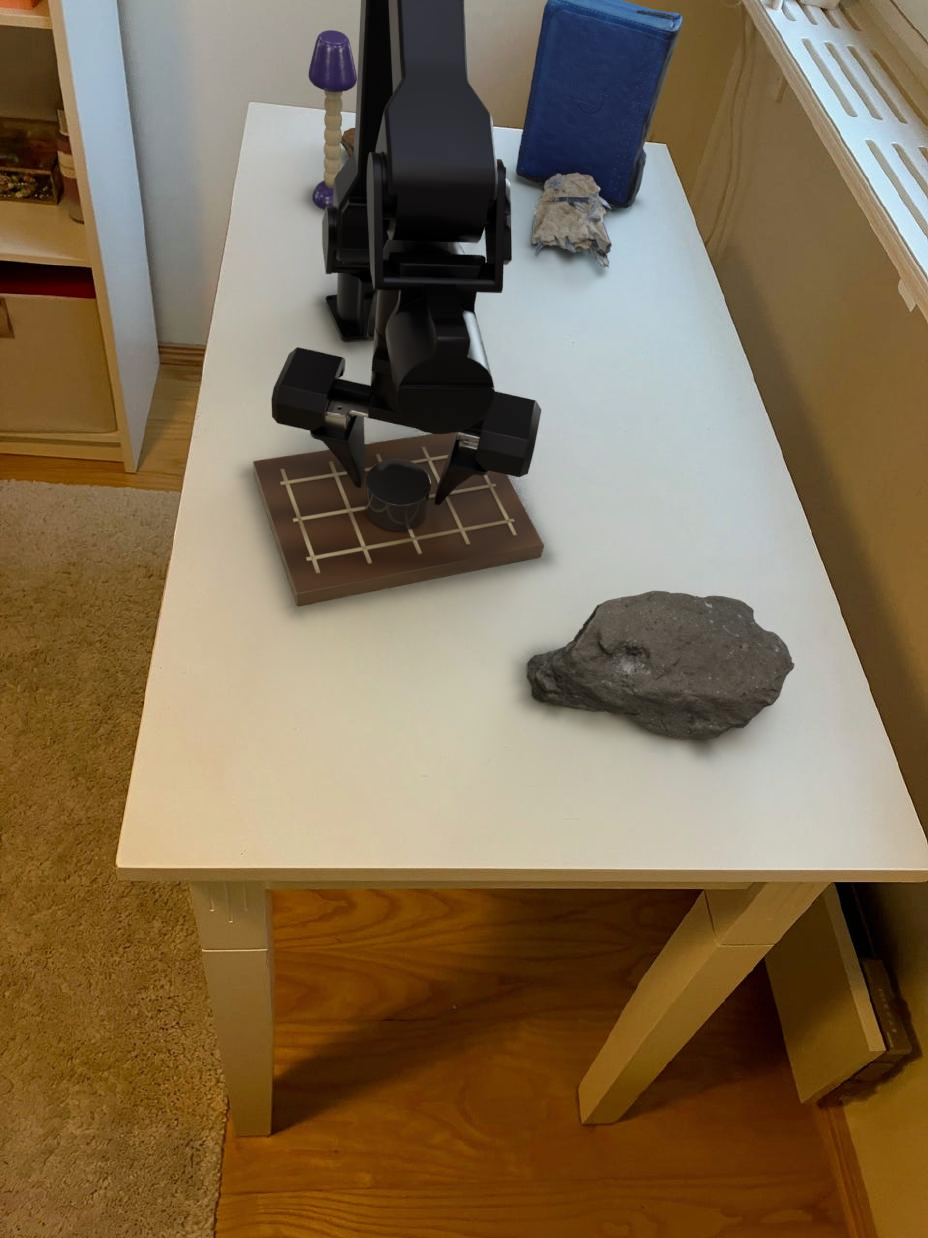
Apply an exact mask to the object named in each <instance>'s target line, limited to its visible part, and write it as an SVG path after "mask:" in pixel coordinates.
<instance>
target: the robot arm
mask: <svg viewBox="0 0 928 1238" xmlns="http://www.w3.org/2000/svg"><path fill="white" fill-rule="evenodd" d="M359 14H360V15H359V33H358V34H359V37H358V53H357V55H358V57H357V82H356V100H355V122H354V128H355V142H354V152H353V154H352V155H351V156H350V157H348V159H347V160H346V162H345V163H344V164H343V165H342V166H341V168H340V170H339V173H338V174H337V175H336V177H335V178H334V192H333V207H332V206H326V209H325V210H324V213H323V217H322V221H321V247H322V252H323V253H322V254H323V262H324V270H325V275H333V274H337V281H336V283H337V285H336V294H329V295H326V296H325V298H324V299H325V301H324V302H325V305H326V307H327V309H328V311H329V314H330V316H331V318H332V320H333V323H334V325H335V328H336V330H337V332H338V334H339V336H340V338H341V340H342V341H344V342H352V341H360V340H369V339H371V340H373V348H372V359H371V360H372V361H371V369H370V371H371V373H370V374H371V375H370V385H369V384H365V383H360V382H357V381H351V380H348V379H343V378H342V377H344V374H345V371H346V358H344V357H343V356H339V355H336V354H330V353H325V352H322V351H317V350H312V349H308V348H303V347H299V346H296V348H295V349H293V350H292V351H290V352H289V353H288V355H287V357H286V360H285V361H284V363H283V366H282V368H281V371H280V373H279V375H278V377H277V379H276V381H275V383H274V385H273V389H272V394H271V417H272V419H273V420H274V421H275V423H276V424H277V425H283V426H286V427H292V428H296V429H300V430H304V431H308V432H309V435H310V437H311V438H312V439H314V440H317V441H321V442H322V443H323V444H324V445H325V446H326V447H327V449H328V450H330V451H331V452H332V453H333V454H334V455H335V456H336V458H337V459H338V460H339V461H340V463H341V464H342V466H343V467H344V469H345V470H346V472H347V474H348V475H349V477H350V478H351V480H352V481H353V483H354V485H355V486H356V487H358V488H361V486H362V483H363V480H364V473H365V444H366V441H365V418H366V419H369V420H374V421H375V420H376V421H379V422H385V423H389V424H392V425H397V426H402V427H406V428H411V429H415V430H418V431H420V432H423V433H427V434H449V433H454V432H456V434H455V437H454V440H453V443H452V446H451V449H450V452H449V455H448V457H447V460H446V463H445V466H444V469H443V472H442V474H441V477H440V480H439V484H438V488H437V491H436V495H435V503H434V504H435V505H440V504H441V503H442V502H443V501H444V500H445V499H446V498H447V496H448V495H449V494H450V493H451V492H452V491H453V490H454V489H455V488H456V487H457V486H458V485H460V484H461V483H463V482H464V481H466V480H467V479H468V478H470V477H471V476H473V475H479V476H484V475H487V474H488V472H489V471H493V472H497V473H502V474H506V475H508V476H510V477H516V478H521V477H523V476H526V475H528V474H529V473H530V467H531V463H532V461H533V456H534V452H535V448H536V444H537V443H536V442H537V437H538V431H539V425H540V421H541V415H542V408H541V407H540V404H539V403H538V402H537V401H538V400H536V399H532V398H528V397H523V396H519V395H514V394H510V393H506V392H500V391H496V390H495V385H494V380H493V375H492V371H491V368H490V364H489V360H488V356H487V351H486V349H485V345H484V341H483V336H482V332H481V330H480V329H481V328H480V325H479V321H478V318H477V314H476V310H475V309H476V307H475V306H476V299H477V294H479V293H482V294H483V293H484V294H487V293H488V294H502V293H503V289H504V268H505V267H504V266H508V265H509V263H511V262H512V260H513V243H512V242H513V241H512V188H511V182H510V181H509V179H508V178H507V167H506V166H505V164H504V161H503V159H501V158H497V151H496V141H495V133H494V123H493V122H494V121H493V116H492V114H491V112H490V111H489V109H488V108H487V107H486V105H485V103H484V102H483V100H482V99H481V98H480V97H479V95H478V93H476V91H475V89H474V88H473V86H472V85H471V83H470V75H469V67H468V65H469V64H468V47H467V28H466V9H465V0H360V13H359ZM483 234H484V241H485V255H482V254H468V253H467V254H466V253H465V251H464V249H463V247H462V246H461V244H460V243H464V244H465V243H468V244H479V242H480V241H481V240H482V237H483Z"/></svg>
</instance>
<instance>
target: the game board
mask: <svg viewBox="0 0 928 1238" xmlns="http://www.w3.org/2000/svg"><path fill="white" fill-rule="evenodd" d="M455 434H456V432H454V433H449V434H432V433H427V434H422V435H417V436H410V437H403V438H396V439H390V440H383V441H377V442H370V443H365V473H364V480H363V483H362V486H361V488H358V487H356V486H355V485H354V483H353V481H352V480H351V478H350V477H349V475H348V474H347V472H346V470H345V469H344V467H343V466H342V464H341V463H340V461H339V460H338V459H337V458H336V456H335V455H334V454H333V453H332V452H331V451H330V449H324V450H318V451H310V452H305V453H297V454H291V455H286V456H278V457H272V458H271V457H270V458H266V459H259V460H253V462H252V463H253V475H254V479H255V482H256V485H257V488H258V490H259V494H260V497H261V500H262V503H263V506H264V510H265V512H266V515H267V518H268V522H269V524H270V527H271V530H272V533H273V537H274V540H275V543H276V546H277V548H278V551H279V555H280V558H281V561H282V564H283V567H284V570H285V574H286V576H287V579H288V583H289V585H290V588H291V592H292V594H293V598H294V601H295V603H296V604H295V605H296V606H297V607H300V606H304V605H309V604H314V603H315V604H316V603H319V602H324V601H330V600H334V599H340V598H346V597H350V596H355V595H359V594H365V593H369V592H374V591H378V590H385V589H389V588H394V587H398V586H403V585H410V584H413V583H418V582H424V581H428V580H435V579H439V578H444V577H448V576H454V575H459V574H463V573H468V572H474V571H478V570H483V569H488V568H493V567H497V566H502V565H508V564H513V563H518V562H522V561H523V562H524V561H527V560H532V559H537V558H541V557H542V555H543V552H544V548H545V543H544V541H543V539H542V538H541V536H540V534H539V532H538V530H537V528H536V526H535V524H534V522H533V521H532V519H531V517H530V515H529V513H528V511H527V509H526V507H525V505H524V504H523V501H522V499H521V498H520V496H519V494H518V492H517V490H516V488H515V486H514V484H513V482H512V480H511V479H510V477H509V476H510V475H506V474H502V473H497V472H493V471H489V472H488V474H487V475H484V476H479V475H473V476H471V477H470V478H468V479H467V480H466V481H464V482H463V483H461V484H460V485H458V486H457V487H456V488H455V489H454V490H453V491H452V492H451V493H450V494H449V495H448V496H447V498H446V499H445V500H444V501H443V502H442V503H441V504H440V505H435V504H434V503H435V495H436V491H437V488H438V484H439V480H440V477H441V474H442V472H443V469H444V466H445V463H446V460H447V457H448V455H449V452H450V449H451V446H452V443H453V440H454V437H455ZM388 459H404V460H408V461H411V462H413V463H416V464H417V465H419V466H420V467H422V468H423V469H424V470H425V471H426V472H427V474H428V476H429V478H430V481H431V490H430V496H429V503H428V509H427V514H426V517H425V519H424V520H423V521H422V523H421V524H419V525H418V526H417V527H415V528H413V529H410V530H406V531H390V530H386V529H383V528H381V527H379V526H377V525H376V524H374V523H373V522H372V521H371V520H370V519H369V518H368V516H367V515H366V512H365V509H364V501H365V488H366V477H367V474H368V472H369V470H370V469H371V468H372V467H373V466H374V465H375V464H377V463H379V462H381V461H384V460H388Z"/></svg>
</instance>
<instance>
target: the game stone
mask: <svg viewBox="0 0 928 1238" xmlns="http://www.w3.org/2000/svg"><path fill="white" fill-rule="evenodd" d="M430 490H431V481H430V478H429V476H428V474H427V472H426V471H425V470H424V469H423V468H422V467H420V466H419V465H417V464H416V463H413V462H411V461H408V460H404V459H388V460H384V461H381V462H379V463H377V464H375V465H374V466H373V467H372V468H371V469H370V470H369V472H368V474H367V477H366V488H365V501H364V509H365V512H366V515H367V516H368V518H369V519H370V520H371V521H372V522H373V523H374V524H376V525H377V526H379V527H381V528H383V529H386V530H390V531H406V530H410V529H413V528H415V527H417V526H418V525H419V524H421V523H422V521H423V520H424V519H425V517H426V514H427V509H428V503H429V496H430Z"/></svg>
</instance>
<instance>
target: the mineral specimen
mask: <svg viewBox="0 0 928 1238" xmlns="http://www.w3.org/2000/svg"><path fill="white" fill-rule="evenodd" d="M599 191H600V187H599V186H597V185H596V183H595V181H594V179H593V178H592V177H591V176H589V175H580V174H579V173H574V174H568V175H561V174H556V176H553V177H551V178H550V179H549V180H547V181H546V182H545V185H544V186H543V193H542V195H541V198H540V199H538V201H537V204H536V205H535V213H534V217H535V219H534V223H533V226H532V228H533V229H532V238H531V239H532V240H531V241H532V244H533V245H536V244H537V246H536V248H535V253H536V254H538V253H539V252H540V251H541V250H542V248H543V247H545V246H548V245H549V246H558V247H559V248H561V249H563V250H566V249H567V250H568V251H569V252H570V253H573V254H576V253H580V252H581V253H583V252H584V251H585V252H586V253H588V254H589V253H592V255H593V257H594V259H595V260H596V262H597V264H599V265H600V266H601V267H602V268H610V266H609V264H610V260H609V258H608V254H609V253H610V252H611V250H612V249H611V247H612V246H613V244H612V241H611V238H610V236H609V234H608V231H607V229H606V226H605V222H604V217H606V216H607V214H608V213H607V211H611V210H612V208H611V205H609V204H608V203H607V202H606V201H605V200H604V199H603V198H601V197H600V196H599V194H598V193H599Z"/></svg>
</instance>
